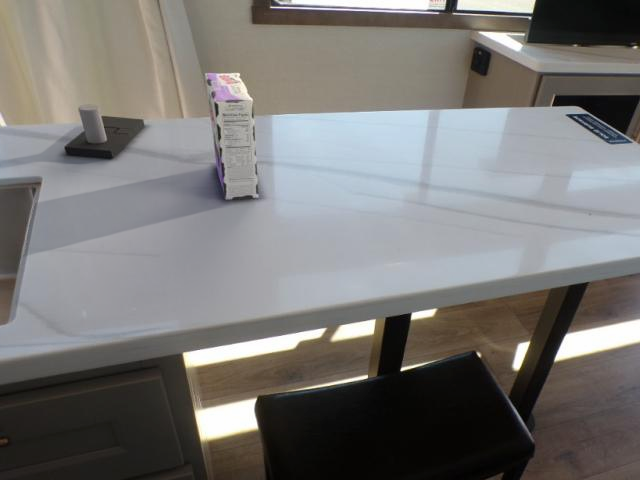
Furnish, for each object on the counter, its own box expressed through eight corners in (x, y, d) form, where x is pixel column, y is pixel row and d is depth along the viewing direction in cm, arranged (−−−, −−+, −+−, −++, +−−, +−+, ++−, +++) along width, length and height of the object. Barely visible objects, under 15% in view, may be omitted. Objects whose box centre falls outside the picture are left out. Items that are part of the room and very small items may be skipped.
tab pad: (66, 154, 93) (53, 112, 88) (92, 133, 101) (81, 93, 96) (112, 158, 93) (102, 117, 89) (134, 137, 101) (126, 98, 97)
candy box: (215, 165, 95) (203, 71, 85) (248, 163, 97) (240, 71, 87) (224, 201, 85) (212, 99, 75) (260, 198, 87) (253, 98, 77)
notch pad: (86, 137, 99) (84, 129, 98) (104, 122, 105) (102, 115, 104) (129, 141, 100) (128, 133, 99) (144, 126, 106) (143, 119, 105)
